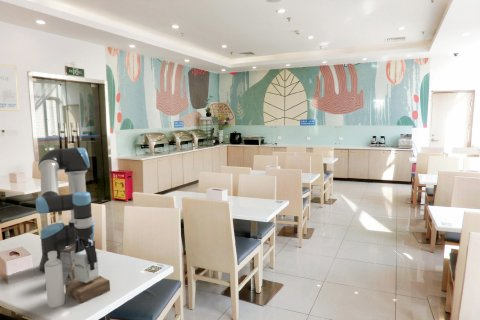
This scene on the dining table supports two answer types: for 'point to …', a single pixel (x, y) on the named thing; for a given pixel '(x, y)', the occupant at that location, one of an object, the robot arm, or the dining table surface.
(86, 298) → the walnut block
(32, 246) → the dining table surface
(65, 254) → the coffee box
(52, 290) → the white bottle
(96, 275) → the supplement box
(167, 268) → the dining table surface
